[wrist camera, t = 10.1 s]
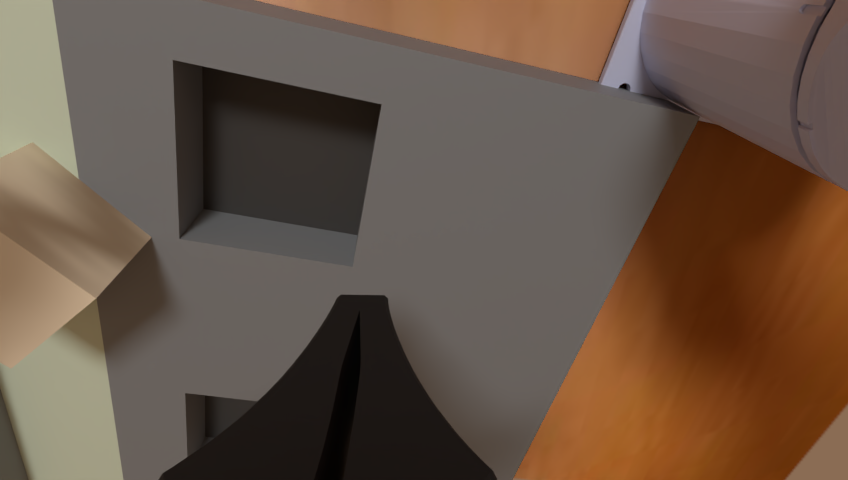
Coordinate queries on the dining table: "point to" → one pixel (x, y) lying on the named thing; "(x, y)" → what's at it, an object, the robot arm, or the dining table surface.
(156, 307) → the board
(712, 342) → the dining table surface
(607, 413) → the dining table surface
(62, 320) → the birch block
